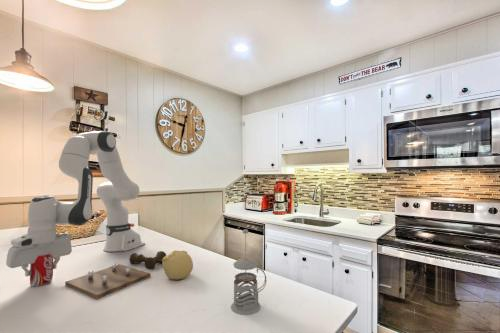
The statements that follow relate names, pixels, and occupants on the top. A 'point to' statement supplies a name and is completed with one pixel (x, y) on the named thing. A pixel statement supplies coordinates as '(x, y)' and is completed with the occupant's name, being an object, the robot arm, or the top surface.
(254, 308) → the french press
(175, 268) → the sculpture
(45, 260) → the soda can
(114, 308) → the top surface
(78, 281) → the peg board
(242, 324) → the top surface
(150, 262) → the kendama
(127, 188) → the robot arm
